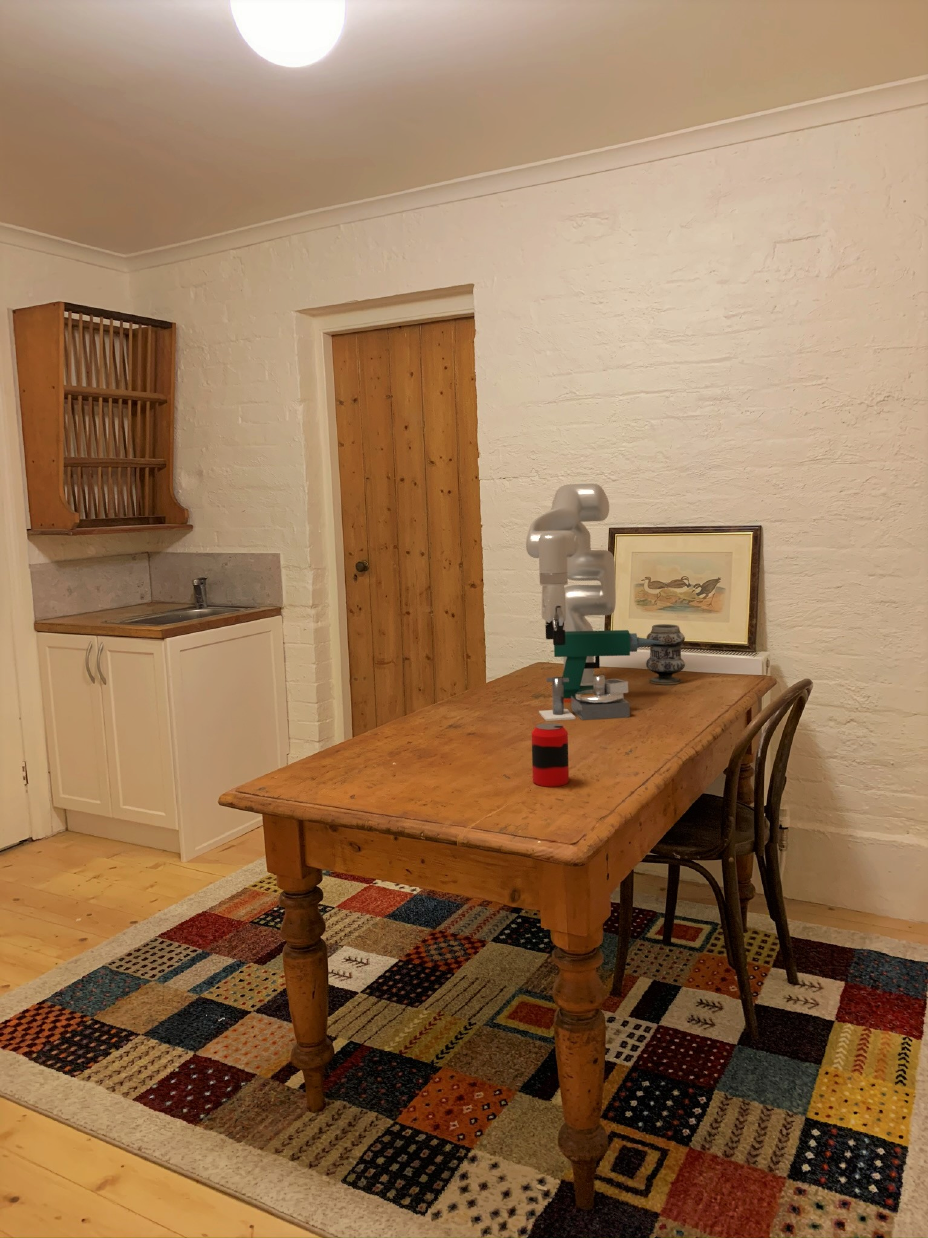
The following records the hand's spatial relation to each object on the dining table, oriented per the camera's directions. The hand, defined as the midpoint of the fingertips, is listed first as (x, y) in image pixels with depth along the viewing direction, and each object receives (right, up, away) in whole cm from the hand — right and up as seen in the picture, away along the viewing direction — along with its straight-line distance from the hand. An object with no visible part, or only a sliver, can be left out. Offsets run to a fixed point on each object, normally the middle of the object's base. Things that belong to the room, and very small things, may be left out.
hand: (555, 641), depth 259 cm
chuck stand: (+13, -20, +3) cm, 24 cm away
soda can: (-6, -28, -58) cm, 65 cm away
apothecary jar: (+39, -14, +43) cm, 60 cm away
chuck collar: (+13, -15, +3) cm, 20 cm away
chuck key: (+1, -20, +2) cm, 20 cm away
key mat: (+1, -20, +2) cm, 20 cm away
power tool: (+18, -18, +21) cm, 32 cm away
